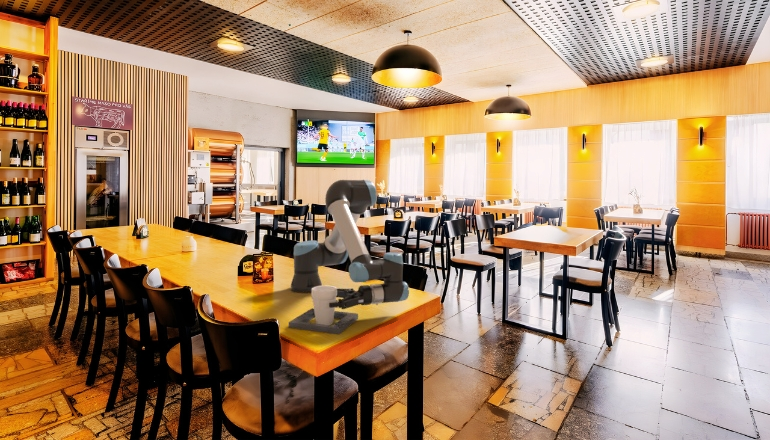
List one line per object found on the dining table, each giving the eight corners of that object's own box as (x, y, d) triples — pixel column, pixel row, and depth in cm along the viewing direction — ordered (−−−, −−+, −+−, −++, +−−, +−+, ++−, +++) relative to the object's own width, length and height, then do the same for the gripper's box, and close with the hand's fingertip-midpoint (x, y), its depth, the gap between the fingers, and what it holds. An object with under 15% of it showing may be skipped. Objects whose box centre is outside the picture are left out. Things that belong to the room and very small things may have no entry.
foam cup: (313, 318, 153) (312, 285, 151) (337, 318, 153) (337, 285, 152) (310, 327, 143) (310, 292, 142) (336, 326, 144) (336, 291, 143)
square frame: (288, 327, 143) (288, 322, 143) (311, 313, 159) (311, 308, 159) (339, 334, 137) (339, 328, 137) (358, 318, 153) (358, 313, 153)
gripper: (381, 313, 143) (323, 321, 135) (360, 295, 166) (309, 301, 158) (381, 293, 142) (322, 299, 134) (360, 278, 165) (309, 282, 157)
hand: (315, 300), depth 146 cm, fingers open, 13 cm apart
